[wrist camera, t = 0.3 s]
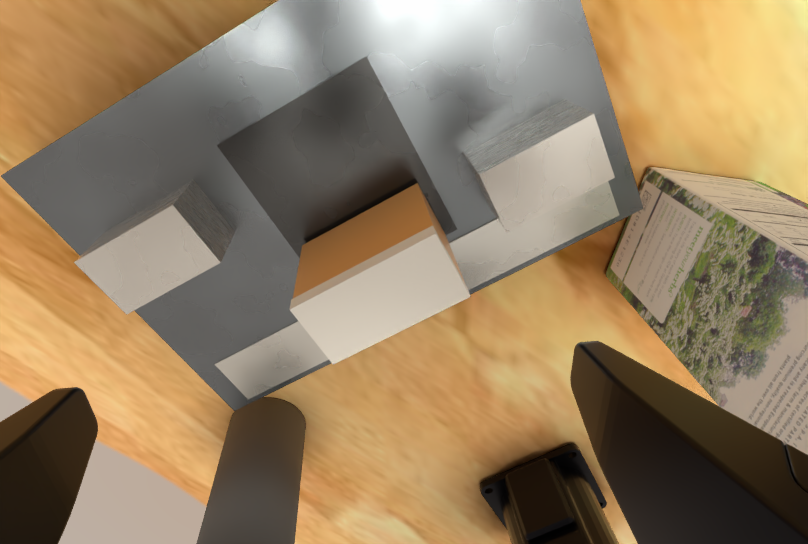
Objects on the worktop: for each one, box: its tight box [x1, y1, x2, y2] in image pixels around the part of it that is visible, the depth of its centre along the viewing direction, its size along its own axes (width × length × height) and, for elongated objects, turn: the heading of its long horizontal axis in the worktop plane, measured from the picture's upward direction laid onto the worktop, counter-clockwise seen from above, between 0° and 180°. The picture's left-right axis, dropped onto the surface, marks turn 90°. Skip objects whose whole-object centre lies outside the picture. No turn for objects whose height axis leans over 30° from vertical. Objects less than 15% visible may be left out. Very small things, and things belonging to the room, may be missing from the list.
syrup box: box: [606, 167, 808, 455], centre depth 18 cm, size 6×6×14 cm
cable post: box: [197, 398, 306, 544], centre depth 24 cm, size 5×5×9 cm
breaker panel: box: [1, 0, 644, 411], centre depth 19 cm, size 13×20×5 cm, turn 118°
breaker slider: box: [290, 183, 471, 365], centre depth 18 cm, size 2×5×5 cm, turn 118°
